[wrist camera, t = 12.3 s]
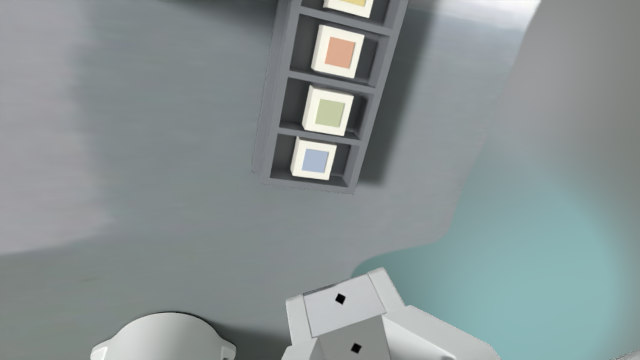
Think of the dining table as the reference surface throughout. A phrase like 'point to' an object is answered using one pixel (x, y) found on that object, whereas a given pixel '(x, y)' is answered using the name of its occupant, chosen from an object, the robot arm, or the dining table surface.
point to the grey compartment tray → (297, 75)
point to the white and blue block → (312, 158)
